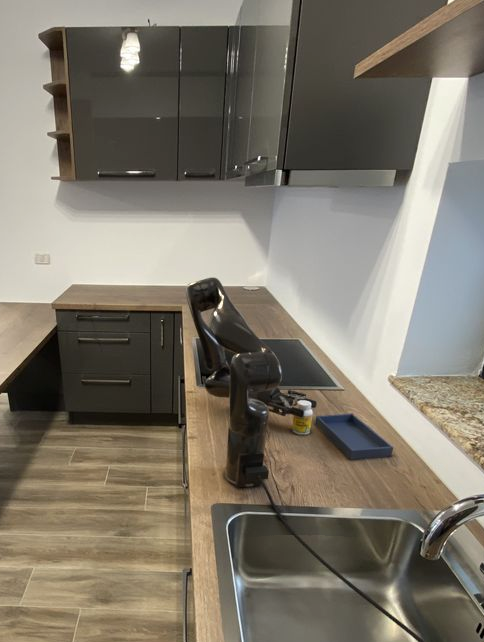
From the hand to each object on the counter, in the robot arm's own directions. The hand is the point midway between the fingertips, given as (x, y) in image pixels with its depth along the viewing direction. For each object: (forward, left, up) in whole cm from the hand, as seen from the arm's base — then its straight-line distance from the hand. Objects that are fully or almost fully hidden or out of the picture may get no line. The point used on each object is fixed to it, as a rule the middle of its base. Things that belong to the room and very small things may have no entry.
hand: (309, 409), depth 132 cm
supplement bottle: (+1, +1, -8) cm, 8 cm away
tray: (-6, -11, -8) cm, 15 cm away
